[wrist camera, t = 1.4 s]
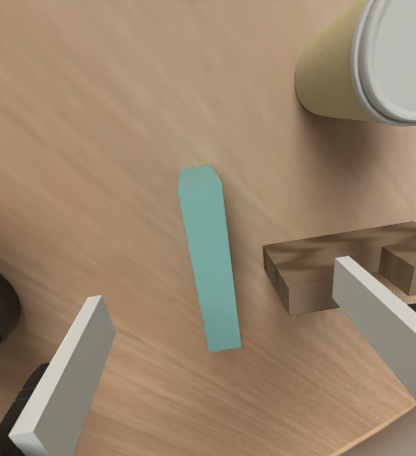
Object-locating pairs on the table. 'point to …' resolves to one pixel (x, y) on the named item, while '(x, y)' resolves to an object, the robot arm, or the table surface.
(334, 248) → the walnut rail
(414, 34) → the coffee cup
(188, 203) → the teal rectangular block
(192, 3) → the table surface
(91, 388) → the robot arm
